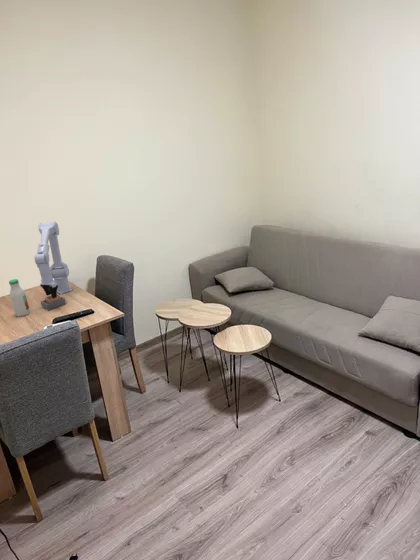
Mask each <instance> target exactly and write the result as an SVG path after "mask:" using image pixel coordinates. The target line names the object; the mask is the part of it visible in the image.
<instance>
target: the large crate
mask: <svg viewBox="0 0 420 560" xmlns="http://www.w3.org/2000/svg"><path fill="white" fill-rule="evenodd" d="M60 297H61V299H60V300H57V301H55V302H52V303H49V304H47V303H46V301H45V299H44V300H41V301H40V305H41V307H42V308H43V309H45V310H47V311H51V310H53V309H57V308H59V307H62V306H64V305H67V302H66V298H64V297H62V296H61V295H60Z"/></svg>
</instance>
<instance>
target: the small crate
mask: <svg viewBox="0 0 420 560" xmlns="http://www.w3.org/2000/svg"><path fill="white" fill-rule="evenodd" d="M60 296H61V294H59V293H57V297H56V298H52V296H51V295H48V296H45V297H44V300H45V301H46V303H47V304H49V303H52V302H55V301H57V300H60V299H61V297H62V296H61V297H60Z"/></svg>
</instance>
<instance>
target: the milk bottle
mask: <svg viewBox="0 0 420 560" xmlns="http://www.w3.org/2000/svg"><path fill="white" fill-rule="evenodd" d="M8 284H9V286H10V291H9V297H10V302H11V306H12V308H13V312H14V315H15V317H23V316H26V315H29V314H30V312H31V310H30V307H29V303H28V299H27V296H26V293H25V291H24V289H23V288H22V287H21V286H20V282H19V279H17V278H14V279H11V280H9V281H8Z"/></svg>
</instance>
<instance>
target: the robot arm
mask: <svg viewBox="0 0 420 560" xmlns="http://www.w3.org/2000/svg"><path fill="white" fill-rule="evenodd" d="M38 231H39V233H40V237H41V238H40V243H38V246H37V253H36V254H35V255H34V262H35V264H36V267H37V268H38V270H39V275H40V278H41V279H40V284H39V286H40V287H41V288H42V289H43V291H44V293H45V295H46V297H48V296H52V298H56V297H57V294H59V295H62V294H66V293H69V292H71V291H74V289H73V288H71V286H70V282H69V279H68V277H69V275H70V270H69V268H68V264H67V263H65V262H64V261H62V256H61V252H60V245H59V239H58V236H59V235H60V227H59V224H58V223H57V222H56V221H51V222H44V223H43V222H42V223H41V222H40V223H39V224H38ZM50 250H51V257H52V262H53V263H52V264H51V265H50V254H49V253H50V252H49V251H50Z"/></svg>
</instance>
